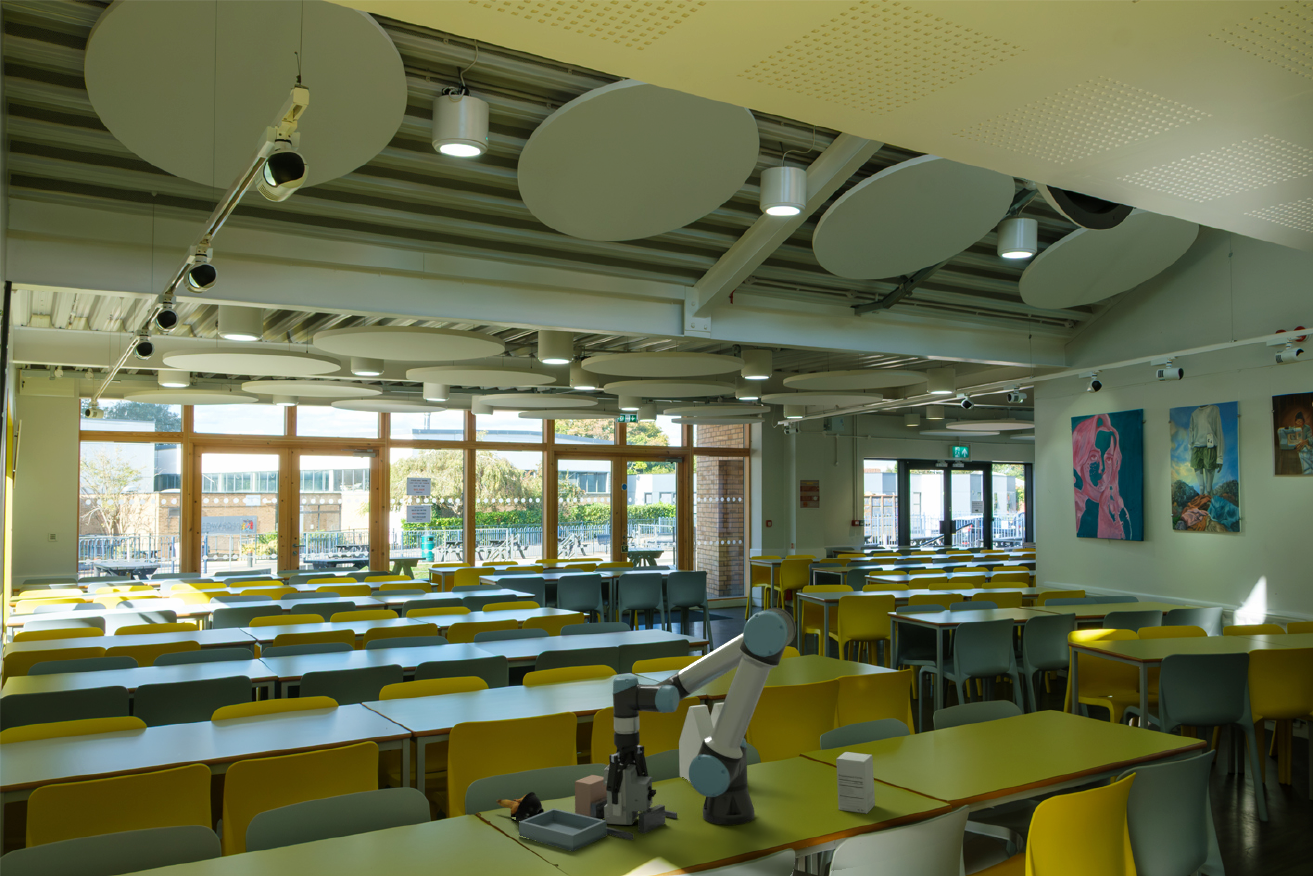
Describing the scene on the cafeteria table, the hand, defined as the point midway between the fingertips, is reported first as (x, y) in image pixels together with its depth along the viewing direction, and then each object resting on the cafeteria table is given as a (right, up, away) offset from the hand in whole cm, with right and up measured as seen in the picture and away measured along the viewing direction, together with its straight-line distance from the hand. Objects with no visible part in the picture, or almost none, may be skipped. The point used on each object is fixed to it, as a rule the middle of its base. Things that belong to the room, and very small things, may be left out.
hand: (628, 810), depth 246 cm
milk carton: (+27, -8, +40) cm, 49 cm away
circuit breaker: (+1, -3, 0) cm, 3 cm away
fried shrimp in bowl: (-32, -5, +5) cm, 33 cm away
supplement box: (+68, -3, +9) cm, 69 cm away
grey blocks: (0, -3, 0) cm, 3 cm away
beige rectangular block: (-11, -5, +8) cm, 14 cm away
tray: (-18, -2, -11) cm, 21 cm away
